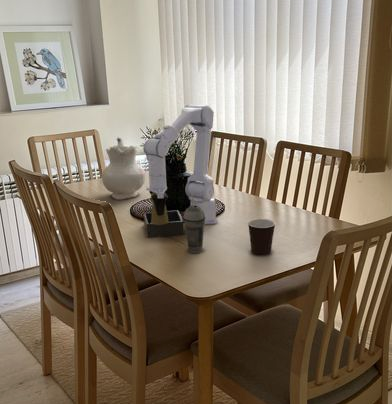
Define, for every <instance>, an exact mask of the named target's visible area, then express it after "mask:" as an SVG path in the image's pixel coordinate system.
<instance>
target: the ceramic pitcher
mask: <svg viewBox="0 0 392 404" xmlns="http://www.w3.org/2000/svg"><path fill="white" fill-rule="evenodd" d="M116 141H117V145H113V146H109V148H106V149H105V152H106V154H107V156H108V159H109V164H108V165H107V166H106V167H105V168H104V169H103V170H102V172H101V182H102V184H103V186H104V188H105V189H106V190H107V191H108V192H110V193H112V194H111V197H112V198H113V199H114V200H117V201H119V200H125V199H130V198H136V197H137V196H138V195H139V193H138V191H139V190H140V189H142V188H143V186H144V184H145V181H146V170H145V169H144V168H143V167H142V166H141V165H140V164H138V162H137V161H136V155H137V152H138V150H139V147H138V146H134V145H129V146H125V145H124V141H123V139H122V138H121V137H118V136H117V137H116Z"/></svg>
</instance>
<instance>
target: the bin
mask: <svg viewBox="0 0 392 404" xmlns="http://www.w3.org/2000/svg"><path fill="white" fill-rule="evenodd" d="M167 216H168V221H169V222H168V223H167V224H163V225H155V224H152V223H151V219H152V211H151V212H143V225H144V230H145V234H146V237H147V238H158V237H167V236H168V237H169V236H179V235H180V236H181V235H184V234H185V230H184V229H185V228H184V226H185V224H184V219H183V217H182V216H181V213H180V211H179V210H178V209H177V210H167Z"/></svg>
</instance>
